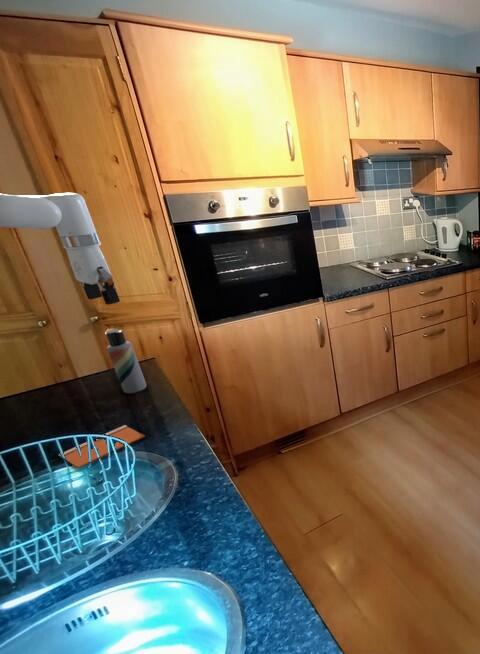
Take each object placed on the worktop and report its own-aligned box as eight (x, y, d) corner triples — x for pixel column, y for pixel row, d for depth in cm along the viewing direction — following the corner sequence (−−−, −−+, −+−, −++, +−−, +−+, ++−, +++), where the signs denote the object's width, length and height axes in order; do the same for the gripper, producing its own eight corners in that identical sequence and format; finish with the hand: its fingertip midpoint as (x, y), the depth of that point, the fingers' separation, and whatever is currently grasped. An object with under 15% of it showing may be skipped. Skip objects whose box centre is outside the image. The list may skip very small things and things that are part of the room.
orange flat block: (78, 468, 106) (77, 466, 106) (58, 455, 110) (57, 453, 110) (145, 436, 117) (144, 434, 117) (124, 426, 122) (124, 424, 121)
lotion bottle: (128, 386, 141) (105, 327, 133) (149, 383, 143) (128, 325, 135) (120, 395, 136) (96, 334, 128) (143, 391, 138) (120, 332, 130)
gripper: (48, 240, 123) (73, 300, 130) (79, 247, 115) (104, 309, 122) (82, 235, 129) (104, 292, 136) (113, 241, 122) (135, 301, 128)
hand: (104, 300), depth 129 cm, fingers open, 9 cm apart
